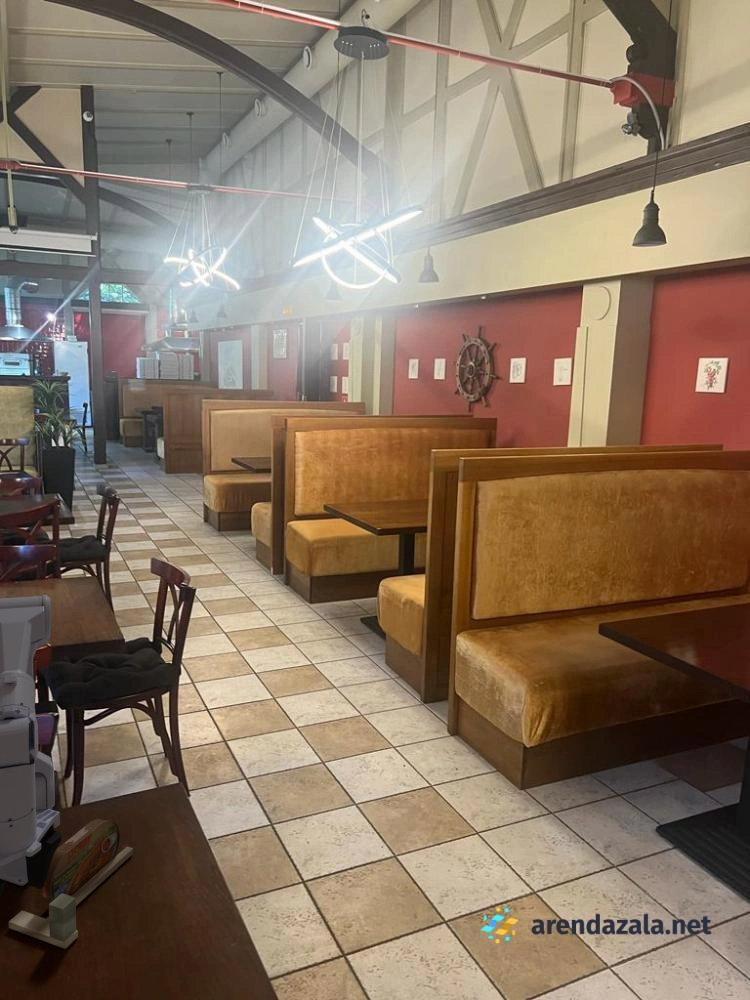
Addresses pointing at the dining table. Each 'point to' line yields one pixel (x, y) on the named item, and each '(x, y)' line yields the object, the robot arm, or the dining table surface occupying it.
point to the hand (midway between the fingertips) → (14, 904)
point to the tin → (81, 858)
